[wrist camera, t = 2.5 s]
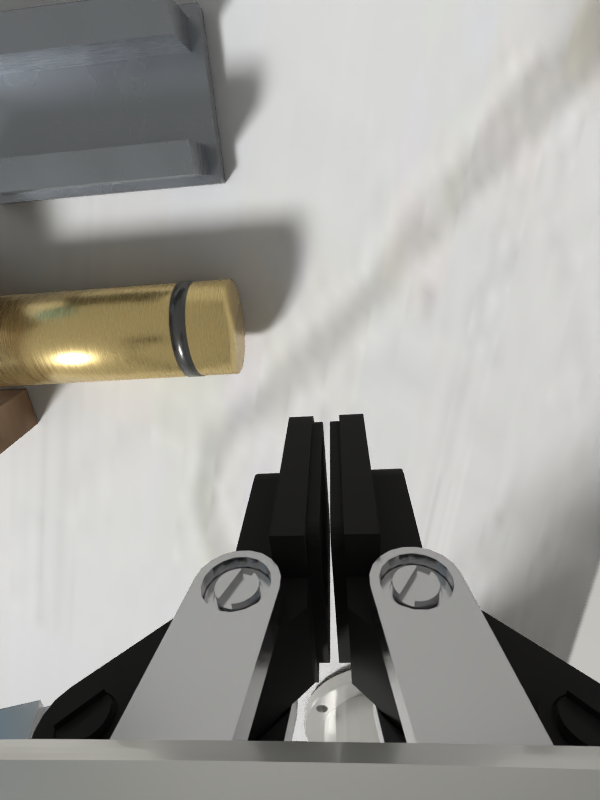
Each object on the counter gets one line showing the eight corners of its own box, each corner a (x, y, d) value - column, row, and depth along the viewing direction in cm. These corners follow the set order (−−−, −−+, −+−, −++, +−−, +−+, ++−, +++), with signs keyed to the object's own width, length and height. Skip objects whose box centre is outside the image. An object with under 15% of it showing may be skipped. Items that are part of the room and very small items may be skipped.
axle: (240, 282, 24) (218, 273, 20) (247, 369, 25) (227, 379, 20) (-15, 301, 25) (-90, 296, 21) (-2, 383, 26) (-72, 395, 22)
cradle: (225, 183, 22) (207, 182, 18) (1, 203, 23) (-51, 206, 19) (202, 9, 19) (177, -25, 16) (-51, 41, 20) (-120, 14, 17)
